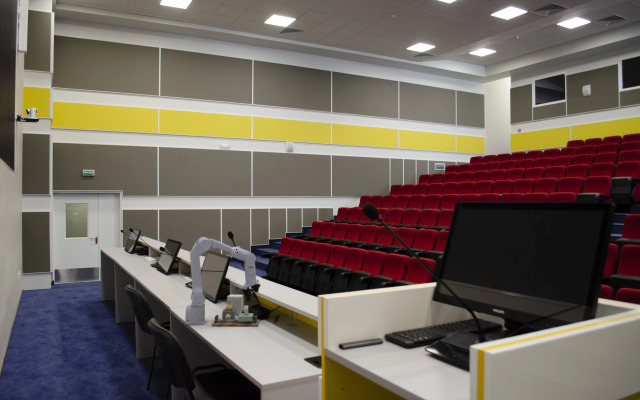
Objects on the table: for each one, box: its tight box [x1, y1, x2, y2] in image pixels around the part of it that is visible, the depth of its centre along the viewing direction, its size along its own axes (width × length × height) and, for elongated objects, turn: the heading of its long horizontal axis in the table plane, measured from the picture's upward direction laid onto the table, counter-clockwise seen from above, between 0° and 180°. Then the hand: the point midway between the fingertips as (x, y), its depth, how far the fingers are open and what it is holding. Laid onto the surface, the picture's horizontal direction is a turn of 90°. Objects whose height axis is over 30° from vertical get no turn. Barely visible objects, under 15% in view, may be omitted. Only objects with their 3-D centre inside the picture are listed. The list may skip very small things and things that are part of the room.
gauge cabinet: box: [221, 308, 236, 319], centre depth 243 cm, size 6×6×5 cm
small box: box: [226, 294, 245, 317], centre depth 254 cm, size 8×6×10 cm
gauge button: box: [225, 304, 232, 310], centre depth 243 cm, size 3×3×2 cm
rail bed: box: [211, 314, 260, 328], centre depth 234 cm, size 23×10×4 cm, turn 93°
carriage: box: [237, 305, 254, 321], centre depth 235 cm, size 7×7×7 cm
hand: (252, 299), depth 246 cm, fingers open, 7 cm apart
